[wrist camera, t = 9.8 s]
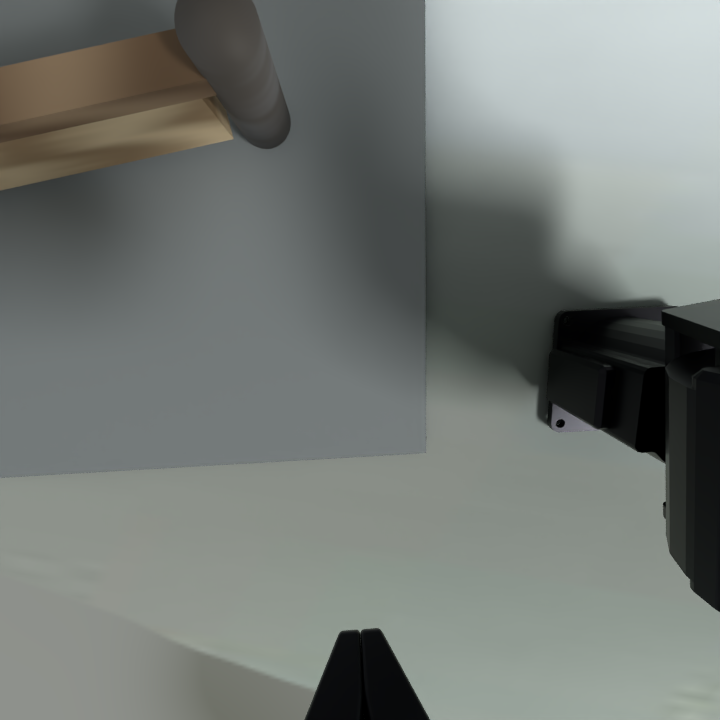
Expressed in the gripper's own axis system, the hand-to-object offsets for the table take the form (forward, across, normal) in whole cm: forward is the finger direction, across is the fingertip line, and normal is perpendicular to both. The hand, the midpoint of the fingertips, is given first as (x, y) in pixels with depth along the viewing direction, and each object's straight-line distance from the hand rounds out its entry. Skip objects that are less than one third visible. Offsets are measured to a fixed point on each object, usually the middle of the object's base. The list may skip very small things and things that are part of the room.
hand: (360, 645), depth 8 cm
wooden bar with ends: (+12, +10, -13) cm, 20 cm away
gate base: (+13, +8, -8) cm, 17 cm away
